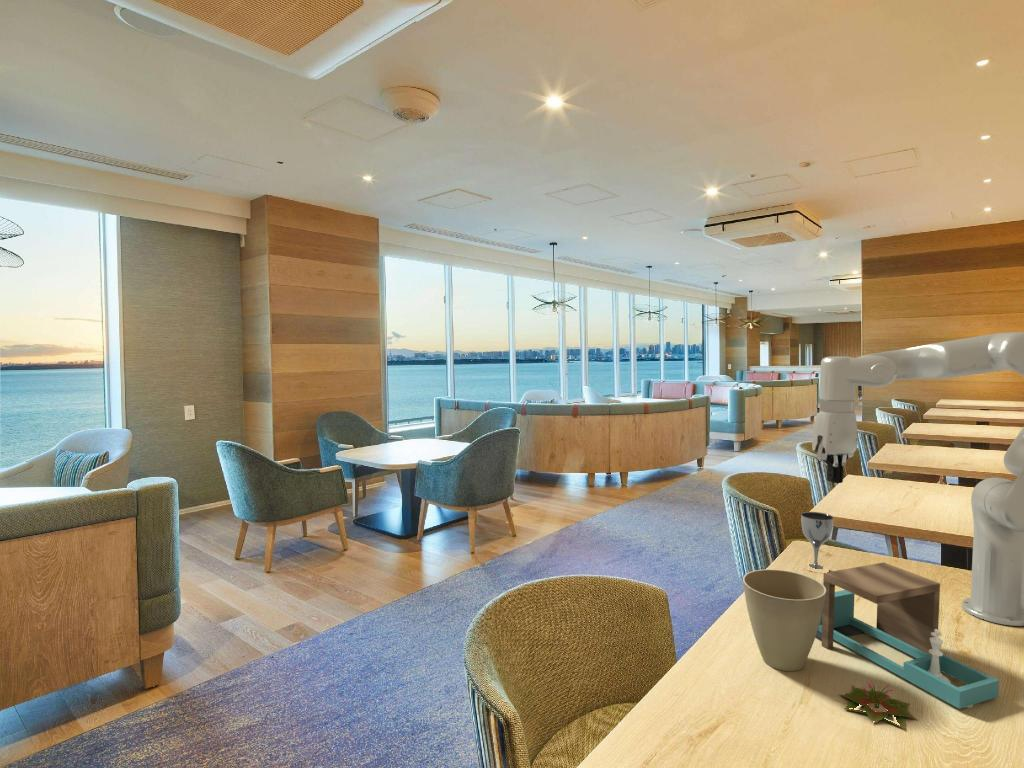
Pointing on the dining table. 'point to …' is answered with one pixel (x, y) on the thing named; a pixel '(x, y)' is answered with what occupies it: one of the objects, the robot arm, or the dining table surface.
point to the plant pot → (784, 615)
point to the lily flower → (878, 698)
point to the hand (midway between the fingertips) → (834, 481)
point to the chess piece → (936, 655)
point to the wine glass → (816, 531)
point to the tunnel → (886, 603)
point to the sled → (915, 661)
